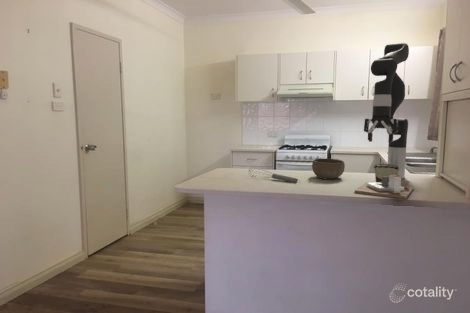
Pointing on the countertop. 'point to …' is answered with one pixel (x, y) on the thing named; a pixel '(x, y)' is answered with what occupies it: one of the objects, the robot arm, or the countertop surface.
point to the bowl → (328, 168)
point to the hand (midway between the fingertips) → (380, 142)
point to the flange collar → (392, 187)
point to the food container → (384, 171)
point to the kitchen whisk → (279, 177)
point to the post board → (385, 179)
